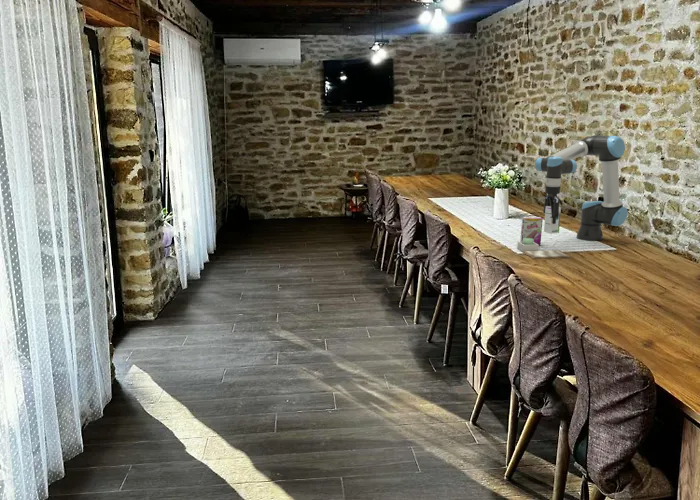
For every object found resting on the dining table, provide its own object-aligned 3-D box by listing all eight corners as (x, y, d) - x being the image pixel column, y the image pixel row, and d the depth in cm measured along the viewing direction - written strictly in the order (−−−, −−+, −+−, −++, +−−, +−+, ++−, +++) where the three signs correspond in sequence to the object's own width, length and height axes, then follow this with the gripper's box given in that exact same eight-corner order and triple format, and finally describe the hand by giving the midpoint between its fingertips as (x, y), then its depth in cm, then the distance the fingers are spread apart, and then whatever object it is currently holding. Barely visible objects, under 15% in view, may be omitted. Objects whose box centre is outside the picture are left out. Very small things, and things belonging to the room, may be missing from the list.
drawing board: (558, 251, 343) (558, 249, 343) (570, 258, 329) (570, 256, 328) (522, 252, 341) (522, 250, 341) (533, 259, 327) (533, 257, 327)
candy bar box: (521, 245, 359) (523, 218, 355) (520, 243, 364) (521, 216, 360) (540, 245, 358) (542, 218, 354) (539, 243, 363) (541, 216, 359)
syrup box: (551, 233, 328) (553, 207, 324) (543, 231, 333) (545, 205, 329) (559, 232, 330) (561, 206, 327) (551, 230, 335) (553, 204, 332)
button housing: (532, 248, 352) (532, 241, 351) (538, 251, 343) (538, 244, 342) (517, 248, 351) (517, 241, 350) (522, 252, 342) (523, 245, 341)
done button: (530, 244, 350) (531, 237, 349) (535, 246, 344) (535, 239, 343) (520, 244, 349) (521, 237, 348) (524, 247, 343) (525, 240, 342)
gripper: (538, 183, 334) (536, 224, 340) (553, 188, 315) (550, 231, 321) (552, 183, 335) (548, 224, 340) (567, 188, 316) (564, 231, 321)
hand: (549, 228), depth 330 cm, fingers closed on syrup box, 7 cm apart
